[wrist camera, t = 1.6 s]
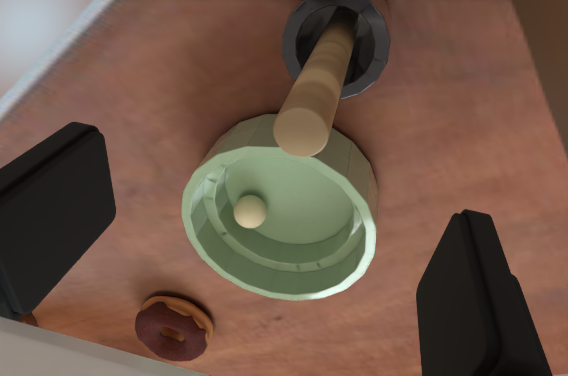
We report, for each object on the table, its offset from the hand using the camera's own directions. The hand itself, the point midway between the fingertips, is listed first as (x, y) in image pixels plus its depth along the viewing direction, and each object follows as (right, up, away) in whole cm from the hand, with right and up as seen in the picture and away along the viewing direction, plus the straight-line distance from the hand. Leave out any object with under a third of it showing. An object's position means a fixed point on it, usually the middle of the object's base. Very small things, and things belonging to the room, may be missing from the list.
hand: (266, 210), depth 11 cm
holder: (+5, +12, +16) cm, 21 cm away
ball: (-3, -2, +25) cm, 25 cm away
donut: (-13, -16, +41) cm, 46 cm away
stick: (+4, +12, +16) cm, 20 cm away
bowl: (+1, 0, +25) cm, 25 cm away
